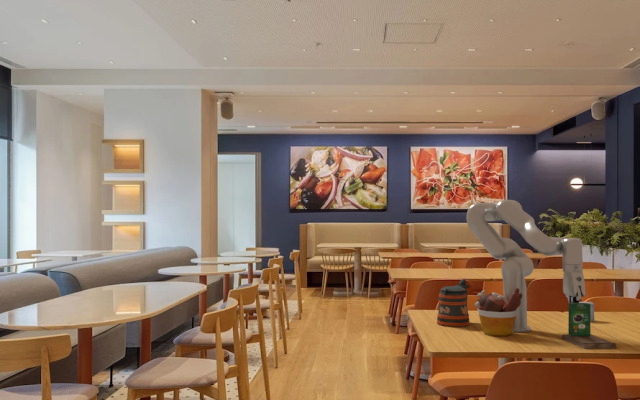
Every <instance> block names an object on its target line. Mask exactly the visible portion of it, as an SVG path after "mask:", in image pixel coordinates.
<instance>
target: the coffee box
mask: <svg viewBox="0 0 640 400" xmlns="http://www.w3.org/2000/svg"><path fill="white" fill-rule="evenodd" d="M590 314H591V304H589V303H568V319H567V320H568V333H567V334H569V335H570V336H590V334H591V333H592V332H591V331H592V330H591V321H590V318H591V316H590Z"/></svg>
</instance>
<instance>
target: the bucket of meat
mask: <svg viewBox="0 0 640 400" xmlns="http://www.w3.org/2000/svg"><path fill="white" fill-rule="evenodd" d="M519 291H520V290H519V288H516V289H515V290H514V293H513V294H512V295H511V297H510V299H509V301H507V300H506V299H505V297H504V295H501V294H499V293H497V292H493V291H492V293H489V294H486V293H487V291H486V290H485V289H483V290H482V291H481V292H479V293H477V294H476V296H477V298H478V299H477V300H476V302H475V303H474V306H475V307H476V308H477V313H478V317H479V321H480V326H481V330H482V332H483V334H485V335H487V336H490V337H491V336H492V337H508V336H510V335H512V334H513V328H514V323H515V318H516V314H517V310H516V309H517V308H518V307H519V306H520V304H521V301H520V300H521V298H522V296H523V295H522V293H519Z"/></svg>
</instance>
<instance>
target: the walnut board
mask: <svg viewBox="0 0 640 400" xmlns="http://www.w3.org/2000/svg"><path fill="white" fill-rule="evenodd" d="M561 339H562V340H564V341H566V342H568V343H571V344H573V345H576V346H577V347H580V348H582V349H590V350H591V349H595V350H596V349H617V343H616V342H615V341H614V342H612V341H609V340H608V339H607V340H606V339H604V338H601V337H600V336H597V335H594V334H590V336H570V335H569V334H568V333H567V334H561Z"/></svg>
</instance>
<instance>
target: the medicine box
mask: <svg viewBox="0 0 640 400" xmlns="http://www.w3.org/2000/svg"><path fill="white" fill-rule="evenodd" d="M579 303H589V304H591V314H590V316H591V318H590V322H595V303H593V302H591V301H579Z"/></svg>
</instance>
